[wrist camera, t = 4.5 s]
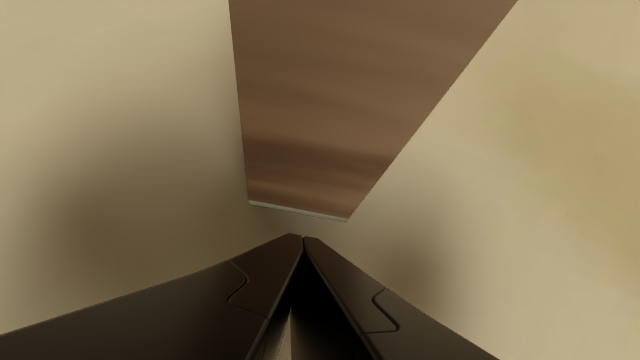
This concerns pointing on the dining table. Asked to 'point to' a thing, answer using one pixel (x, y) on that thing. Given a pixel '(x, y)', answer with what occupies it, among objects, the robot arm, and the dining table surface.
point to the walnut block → (343, 89)
